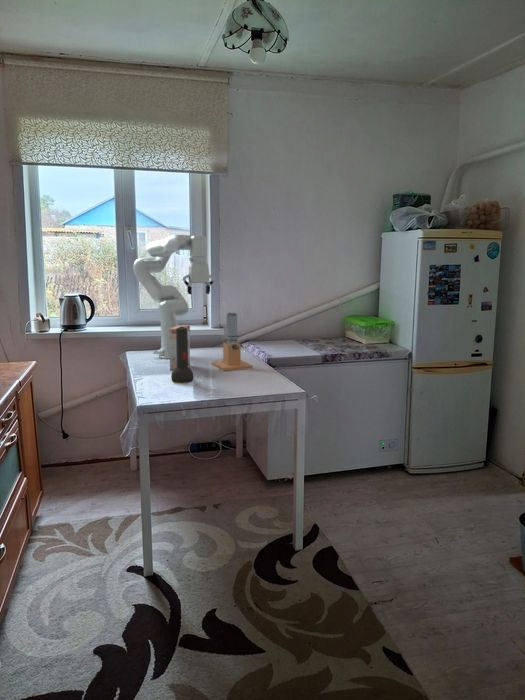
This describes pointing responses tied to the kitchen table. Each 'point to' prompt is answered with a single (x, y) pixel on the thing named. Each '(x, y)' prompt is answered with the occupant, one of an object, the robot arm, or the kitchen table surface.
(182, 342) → the flashlight
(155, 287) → the robot arm
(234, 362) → the stand
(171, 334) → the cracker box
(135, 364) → the kitchen table surface
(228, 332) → the steel column
